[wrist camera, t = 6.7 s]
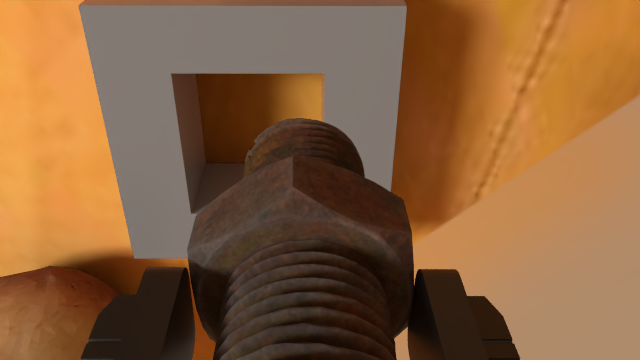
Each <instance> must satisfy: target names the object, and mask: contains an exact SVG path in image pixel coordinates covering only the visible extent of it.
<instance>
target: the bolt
mask: <svg viewBox="0 0 640 360" xmlns="http://www.w3.org/2000/svg"><path fill="white" fill-rule="evenodd" d="M254 142H255V143H256V144H255V145H254V147H253V148H252V149H250V148H249V151H248V153H247V156H246V159H245V166H244V177H243V179H242V180H241V181H239V182H238V183H236V184H235V185H234V186H232V187H231V188H229V189H228V190H226V191H225V192H224V193H222V194H221V195H220V196H218V197H217V198H216V199H215V200H214V201H213V202H211V203H210V204H209V205H208V206H207V207H206V208H204V209H203V210H202V211H201V212H200V213H199V214H198V215H196V217H195V221H194V225H193V229H192V232H191V236H190V240H189V244H188V247H187V254H188V262H189V270H190V278H191V284H192V289H193V294H194V299H195V304H196V309H197V312H198V315H199V317H200V320H201V323H202V325H203V328H204V329H205V331H206V333H207V334H208V336H209V337H210V339H211V340H213V341H214V342H216V347H215V352H214V356H213V360H396V352H395V341H394V338H395V337H396V336H398V335H399V334H400V333H401V332H402V331H403V330H404V329H405V328H407V327H408V322H409V317H410V315H411V310H412V305H413V299H414V264H413V263H414V262H413V246H412V232H411V228H410V224H409V220H408V216H407V212H406V208H405V204H404V201H403V199H401V198H400V197H398V196H396V195H395V194H393V193H392V192H390V191H388V190H387V189H385V188H384V187H382V186H380V185H379V184H377V183H375V182H373V181H371V180H369V179H367V178H365V173H364V167H363V162H362V160H361V157H360V155H359V153H358V151H357V148H356V147H355V145H354V143H353V142H352V140H351V139H350V138H349V137H348V136H347V135H346V134H345V133H344V132H342V131H341V130H340V129H338V128H337V127H335V126H333V125H330V124H328V123H325V122H321V121H318V120H311V119H303V118H296V119H286V120H283V121H280V122H277V123H275V124H273V125H272V126H270V127H268V128H267V129H265V130H264V131H263V132H262V133H260V134H259V135H258V136H257V138H256V139H255V140H254Z"/></svg>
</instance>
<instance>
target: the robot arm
mask: <svg viewBox="0 0 640 360" xmlns="http://www.w3.org/2000/svg"><path fill="white" fill-rule="evenodd" d="M88 339H89V341H88V343H86V346H85V348H84V350H83V353H82V355H81V360H192V357H193V351H194V342H195V322H194V314H193V306H192V298H191V290H190V282H189V274H188V270H187V268H181V267H148V268H147V269H146V270H145V272H144V274H143V277H142V280H141V283H140V286H139V289H138V292H137V295H117V296H116V297H115V298H114V299H113V300H112V301H111V302H110V303H109V304H108V305H107V306H106V307H105V308H104V309H103V310H102V311H101V312H100V313H99V314H98V316H97V319H96V321H95V324H94V326H93V328H92V331H91V333H90V336H89V338H88ZM408 349H409V356H410V360H520V357H519V355H518V352H517V350H516V347H515V345H514V344H513V343H512V337H511V335H510V332H509V330H508V327H507V325H506V322H505V320H504V317H503V316H502V315H501V314H500V313H499V311H498V310H497V309H496V308H495V307H494V306H493V305H492V304H491V303H490V302H489V301H488V300H487V299H486V298H485V297H484V296H467V295H466V292H465V289H464V286H463V283H462V280H461V277H460V275H459V273H458V271H457V270H455V269H419V270H418V271H417V274H416V278H415V285H414V299H413V305H412V310H411V315H410V317H409V322H408Z"/></svg>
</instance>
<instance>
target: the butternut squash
mask: <svg viewBox="0 0 640 360" xmlns="http://www.w3.org/2000/svg"><path fill="white" fill-rule="evenodd" d="M117 295H119V294H118V293H117V292H116V291H115V290H114V289H113V288H112V287H111V286H109V285H108V284H106V283H104V282H103V281H101V280H99V279H98V278H96V277H94V276H92V275H90V274H87V273H85V272H82V271H79V270H76V269H71V268H65V267H55V266H48V267H45V268H41V269H37V270H33V271H28V272H23V273H18V274H13V275H9V276H4V277H0V360H81V355H82V353H83V350H84V348H85V346H86V343H88V341H89V339H88V338H89V336H90V333H91V331H92V328H93V326H94V324H95V321H96V319H97V316H98V314H99V313H100V312H101V311H102V310H103V309H104V308H105V307H106V306H107V305H108V304H109V303H110V302H111V301H112V300H113V299H114V298H115V297H116V296H117Z"/></svg>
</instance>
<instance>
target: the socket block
mask: <svg viewBox="0 0 640 360" xmlns="http://www.w3.org/2000/svg"><path fill="white" fill-rule="evenodd" d="M79 10H80V14H81V19H82V23H83V28H84V32H85V37H86V41H87V46H88V51H89V55H90V60H91V64H92V69H93V73H94V78H95V82H96V87H97V91H98V96H99V100H100V105H101V109H102V114H103V119H104V123H105V128H106V132H107V137H108V141H109V146H110V150H111V155H112V159H113V164H114V168H115V173H116V177H117V182H118V187H119V191H120V196H121V200H122V205H123V209H124V214H125V218H126V223H127V227H128V232H129V236H130V241H131V245H132V250H133V255H134V259H153V258H188V254H187V247H188V244H189V240H190V236H191V232H192V229H193V225H194V221H195V217H196V215H198V214H199V213H200V212H201V211H202V210H203V209H204V208H206V207H207V206H208V205H209V204H210V203H211V202H213V201H214V200H215V199H216V198H217V197H218V196H220V195H221V194H222V193H224V192H225V191H226V190H228V189H229V188H231V187H232V186H234V185H235V184H236V183H238V182H239V181H241V180H242V179H243V177H244V166H245V163H206V156H205V147H204V139H203V130H202V122H201V113H200V105H199V96H198V88H197V79H196V74H322V122H325V123H328V124H330V125H333V126H335V127H337V128H338V129H340V130H341V131H342V132H344V133H345V134H346V135H347V136H348V137H349V138H350V139H351V140H352V142H353V143H354V145H355V147H356V148H357V151H358V153H359V155H360V157H361V160H362V162H363V167H364V173H365V178H367V179H369V180H371V181H373V182H375V183H377V184H379V185H380V186H382V187H384V188H385V189H387V190H388V191H390V192H391V183H392V172H393V160H394V149H395V138H396V126H397V115H398V104H399V92H400V81H401V70H402V58H403V47H404V36H405V24H406V13H407V5H406V3H405V1H404V0H85V1H83V2H82V3H81V4H80V5H79Z"/></svg>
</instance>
